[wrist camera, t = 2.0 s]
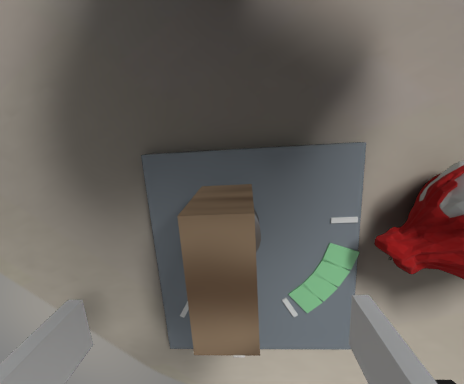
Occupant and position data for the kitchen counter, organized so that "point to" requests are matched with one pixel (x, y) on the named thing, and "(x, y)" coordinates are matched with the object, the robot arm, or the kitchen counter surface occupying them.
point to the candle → (431, 227)
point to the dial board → (271, 235)
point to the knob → (221, 269)
